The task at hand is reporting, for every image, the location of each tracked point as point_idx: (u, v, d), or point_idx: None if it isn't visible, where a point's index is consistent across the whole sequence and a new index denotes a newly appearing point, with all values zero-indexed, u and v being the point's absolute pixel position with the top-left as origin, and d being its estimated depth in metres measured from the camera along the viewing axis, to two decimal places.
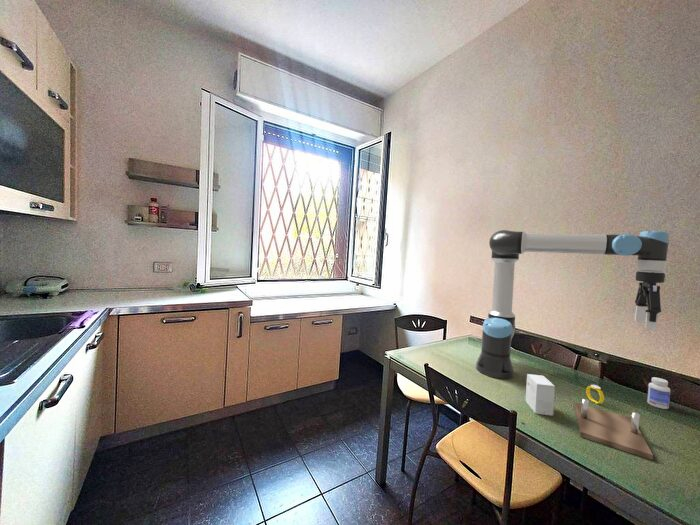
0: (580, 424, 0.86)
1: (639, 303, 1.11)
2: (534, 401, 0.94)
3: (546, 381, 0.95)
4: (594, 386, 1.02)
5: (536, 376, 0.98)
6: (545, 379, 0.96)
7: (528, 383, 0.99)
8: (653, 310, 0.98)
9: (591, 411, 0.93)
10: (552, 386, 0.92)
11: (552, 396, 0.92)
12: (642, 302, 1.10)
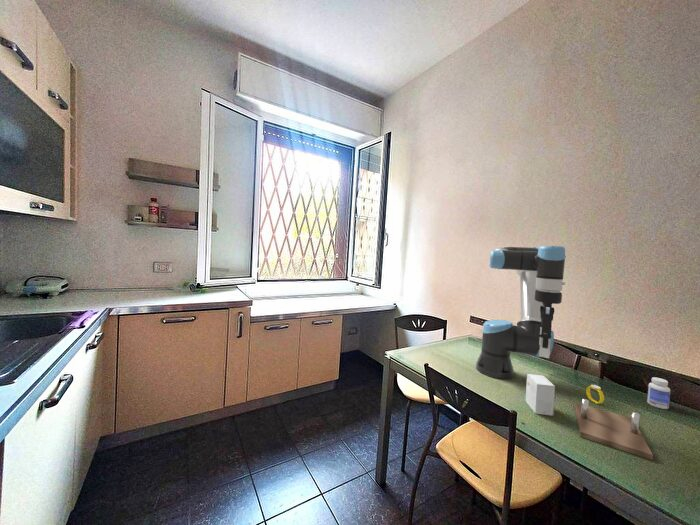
0: (580, 424, 0.86)
1: None
2: (534, 401, 0.94)
3: (546, 381, 0.95)
4: (594, 386, 1.02)
5: (536, 376, 0.98)
6: (545, 379, 0.96)
7: (528, 383, 0.99)
8: (543, 335, 0.87)
9: (591, 411, 0.93)
10: (552, 386, 0.92)
11: (552, 396, 0.92)
12: None
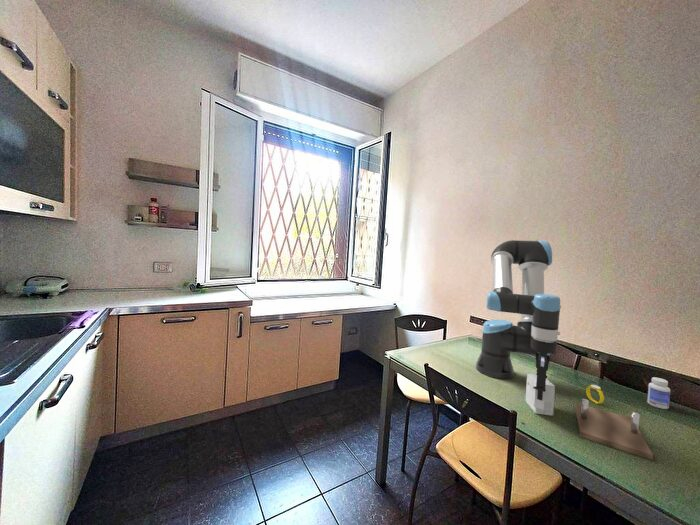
0: (580, 424, 0.86)
1: None
2: None
3: (546, 381, 0.95)
4: (594, 386, 1.02)
5: (536, 376, 0.98)
6: None
7: (528, 383, 0.99)
8: (538, 388, 0.90)
9: (591, 411, 0.93)
10: (552, 386, 0.92)
11: (552, 396, 0.92)
12: None
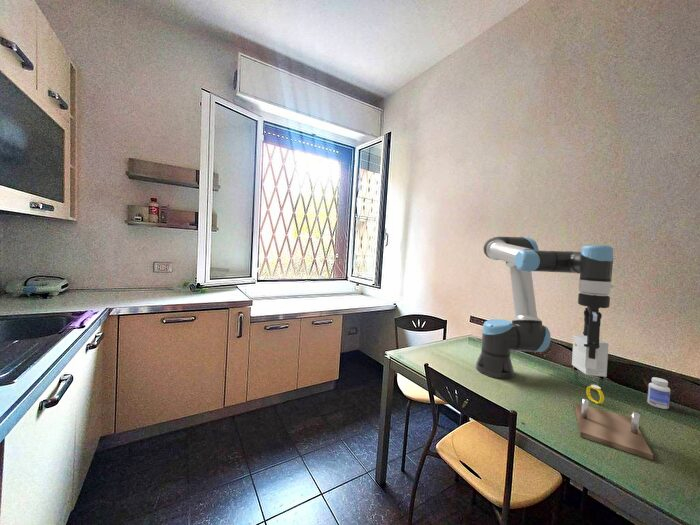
0: (580, 424, 0.86)
1: (586, 334, 0.92)
2: (584, 361, 0.86)
3: None
4: (594, 386, 1.02)
5: (584, 336, 0.90)
6: None
7: (576, 344, 0.90)
8: (590, 345, 0.81)
9: (591, 411, 0.93)
10: (605, 344, 0.83)
11: (605, 355, 0.83)
12: None
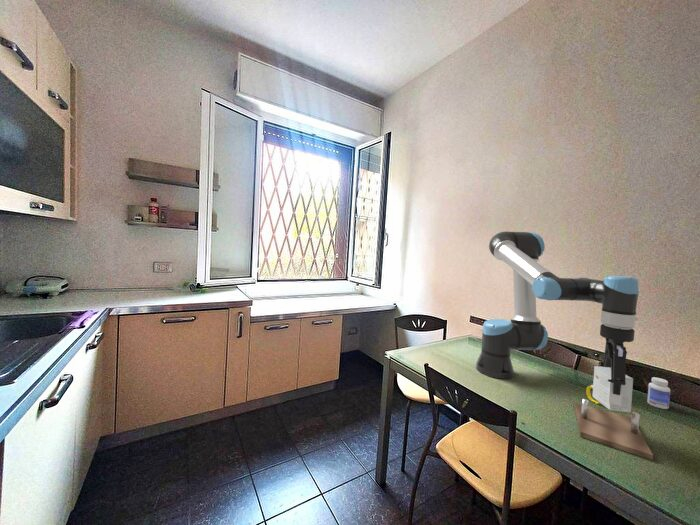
0: (580, 424, 0.86)
1: (607, 365, 0.89)
2: (607, 396, 0.83)
3: None
4: None
5: (606, 368, 0.87)
6: None
7: (597, 376, 0.88)
8: (616, 381, 0.79)
9: (591, 411, 0.93)
10: (630, 379, 0.81)
11: (630, 390, 0.81)
12: (610, 364, 0.89)
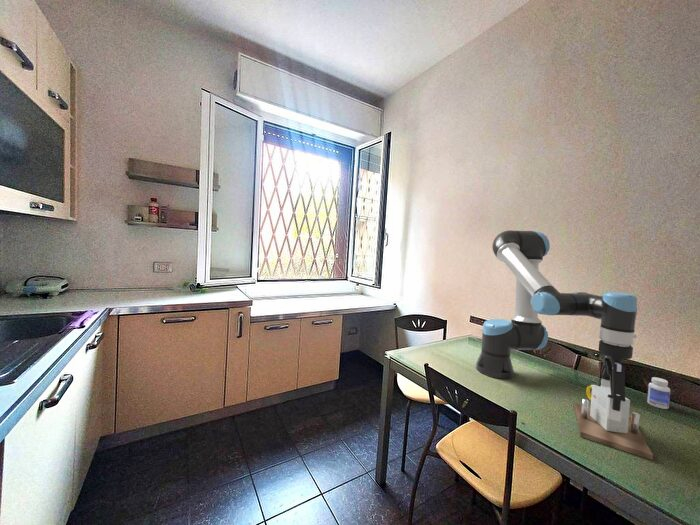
0: (580, 424, 0.86)
1: (605, 376, 0.91)
2: (605, 417, 0.84)
3: None
4: None
5: (604, 388, 0.88)
6: None
7: (595, 396, 0.88)
8: (616, 398, 0.77)
9: None
10: (627, 400, 0.82)
11: (627, 411, 0.82)
12: (608, 375, 0.90)
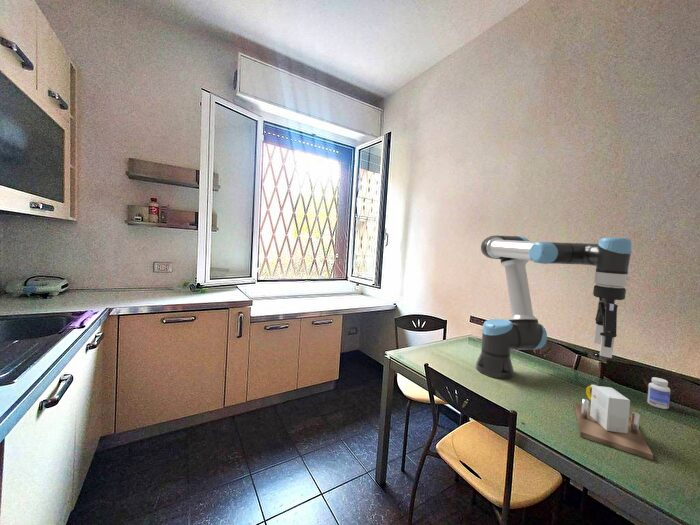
0: (580, 424, 0.86)
1: (599, 321, 0.95)
2: (605, 417, 0.84)
3: (617, 394, 0.84)
4: None
5: (604, 388, 0.88)
6: (615, 392, 0.86)
7: (595, 396, 0.88)
8: (608, 334, 0.81)
9: None
10: (627, 400, 0.82)
11: (627, 411, 0.82)
12: (602, 320, 0.94)
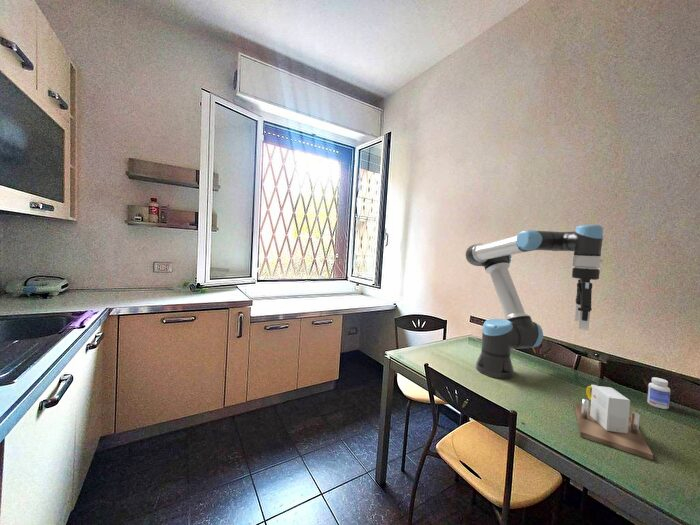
0: (580, 424, 0.86)
1: (578, 301, 1.06)
2: (605, 417, 0.84)
3: (617, 394, 0.84)
4: None
5: (604, 388, 0.88)
6: (615, 392, 0.86)
7: (595, 396, 0.88)
8: (584, 308, 0.92)
9: None
10: (627, 400, 0.82)
11: (627, 411, 0.82)
12: (581, 300, 1.05)
